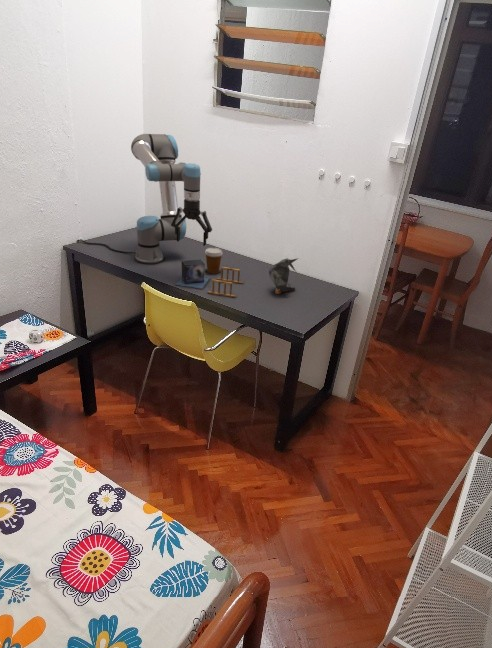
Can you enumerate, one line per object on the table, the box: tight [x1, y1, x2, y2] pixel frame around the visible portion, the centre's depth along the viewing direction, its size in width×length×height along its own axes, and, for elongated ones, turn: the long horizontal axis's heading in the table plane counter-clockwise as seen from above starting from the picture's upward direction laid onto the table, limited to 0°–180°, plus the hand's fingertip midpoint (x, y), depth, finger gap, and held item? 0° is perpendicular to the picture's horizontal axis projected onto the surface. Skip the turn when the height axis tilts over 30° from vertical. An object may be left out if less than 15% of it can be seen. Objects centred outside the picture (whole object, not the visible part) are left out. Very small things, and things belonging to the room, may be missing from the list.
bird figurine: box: [268, 257, 299, 295], centre depth 235 cm, size 14×15×18 cm
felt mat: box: [175, 276, 210, 290], centre depth 238 cm, size 14×14×1 cm
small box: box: [181, 258, 206, 284], centre depth 235 cm, size 11×6×10 cm, turn 117°
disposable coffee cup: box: [204, 247, 223, 274], centre depth 249 cm, size 10×10×12 cm
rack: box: [207, 266, 244, 299], centre depth 234 cm, size 14×19×7 cm
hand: (191, 242), depth 228 cm, fingers open, 13 cm apart
